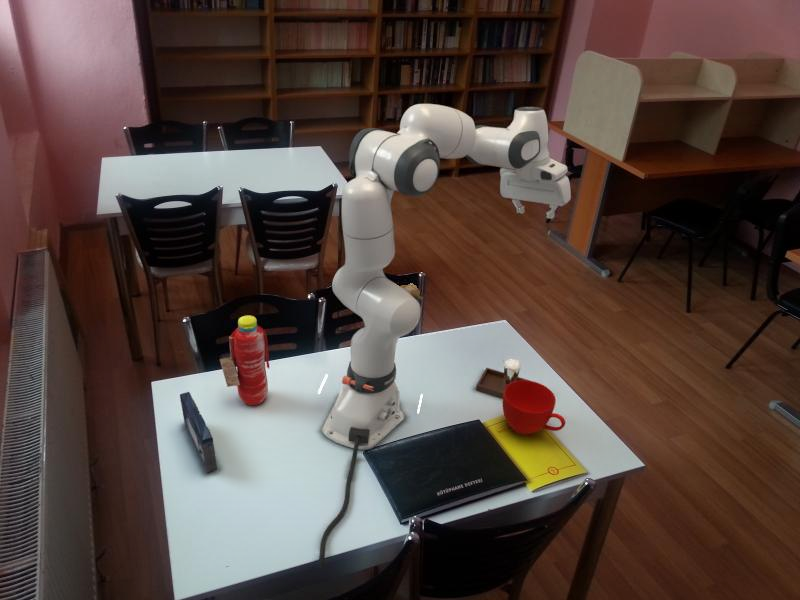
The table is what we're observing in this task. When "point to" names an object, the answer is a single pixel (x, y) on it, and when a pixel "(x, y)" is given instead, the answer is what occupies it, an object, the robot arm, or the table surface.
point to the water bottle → (247, 361)
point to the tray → (492, 382)
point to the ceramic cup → (529, 407)
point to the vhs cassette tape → (198, 432)
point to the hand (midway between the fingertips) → (535, 215)
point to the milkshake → (510, 371)
